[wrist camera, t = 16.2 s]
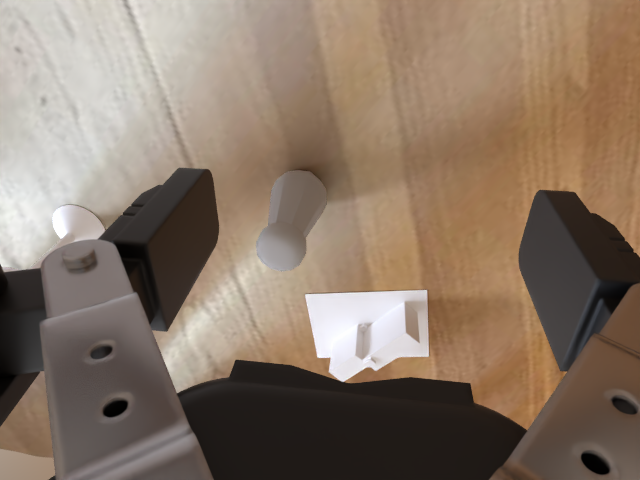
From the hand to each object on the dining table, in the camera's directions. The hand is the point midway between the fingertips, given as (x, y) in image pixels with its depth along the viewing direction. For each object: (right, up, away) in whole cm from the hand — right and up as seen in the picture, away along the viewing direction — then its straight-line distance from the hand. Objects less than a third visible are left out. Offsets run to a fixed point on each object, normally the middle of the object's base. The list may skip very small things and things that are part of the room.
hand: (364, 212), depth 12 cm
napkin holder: (+5, -12, +48) cm, 49 cm away
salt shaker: (-3, +5, +38) cm, 39 cm away
